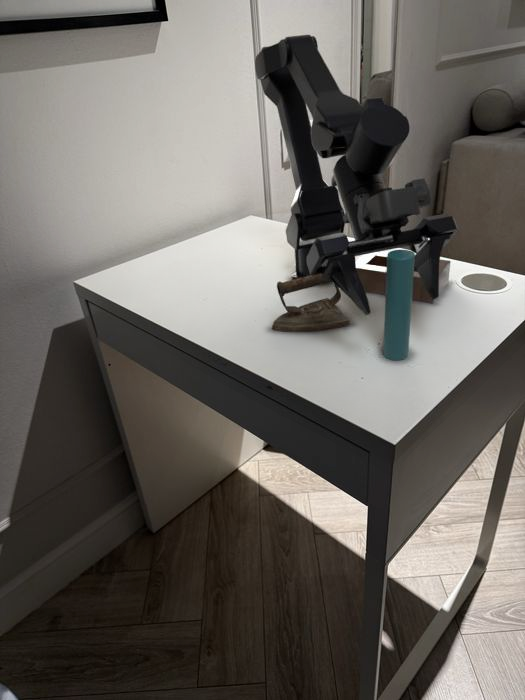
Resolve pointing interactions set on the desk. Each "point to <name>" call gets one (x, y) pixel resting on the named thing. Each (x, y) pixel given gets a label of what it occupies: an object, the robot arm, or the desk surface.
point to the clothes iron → (309, 308)
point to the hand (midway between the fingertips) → (402, 306)
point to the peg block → (374, 276)
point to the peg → (398, 303)
